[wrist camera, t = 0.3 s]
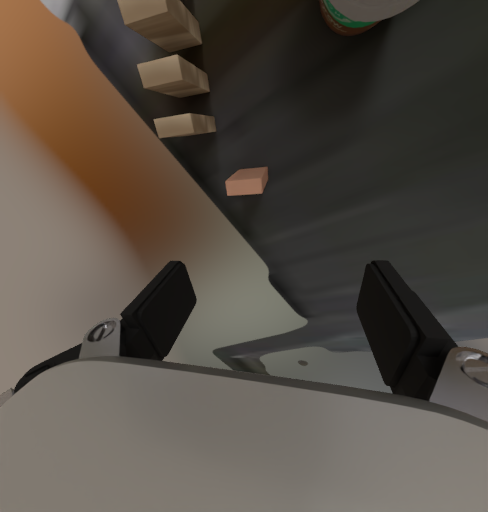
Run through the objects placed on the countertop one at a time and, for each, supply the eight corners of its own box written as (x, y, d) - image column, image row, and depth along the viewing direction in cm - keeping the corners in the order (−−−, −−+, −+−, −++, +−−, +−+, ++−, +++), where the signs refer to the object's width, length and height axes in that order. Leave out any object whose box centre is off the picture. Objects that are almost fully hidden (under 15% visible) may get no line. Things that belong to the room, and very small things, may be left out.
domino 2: (175, 80, 29) (136, 64, 21) (207, 73, 28) (177, 54, 20) (179, 97, 30) (144, 88, 22) (209, 91, 29) (182, 79, 21)
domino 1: (164, 32, 26) (115, -6, 19) (198, 22, 25) (160, -22, 18) (169, 52, 27) (124, 24, 20) (202, 44, 26) (167, 11, 19)
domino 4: (239, 169, 34) (225, 181, 27) (267, 166, 33) (261, 178, 25) (240, 181, 35) (227, 195, 28) (268, 179, 34) (262, 193, 26)
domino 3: (185, 121, 31) (153, 119, 24) (213, 116, 30) (189, 113, 23) (188, 135, 32) (159, 138, 25) (216, 131, 31) (194, 132, 24)
